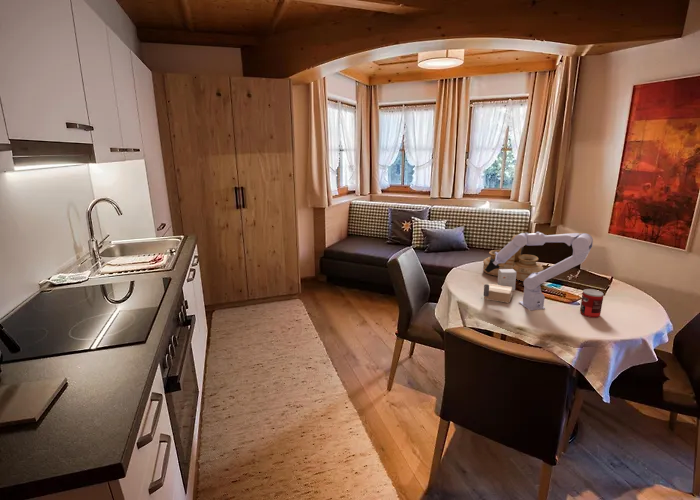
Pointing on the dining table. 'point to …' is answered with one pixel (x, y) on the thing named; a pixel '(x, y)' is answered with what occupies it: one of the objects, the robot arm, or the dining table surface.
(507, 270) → the small box
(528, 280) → the robot arm
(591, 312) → the canned food
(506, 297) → the tan cardboard box
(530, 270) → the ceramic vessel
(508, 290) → the carton
